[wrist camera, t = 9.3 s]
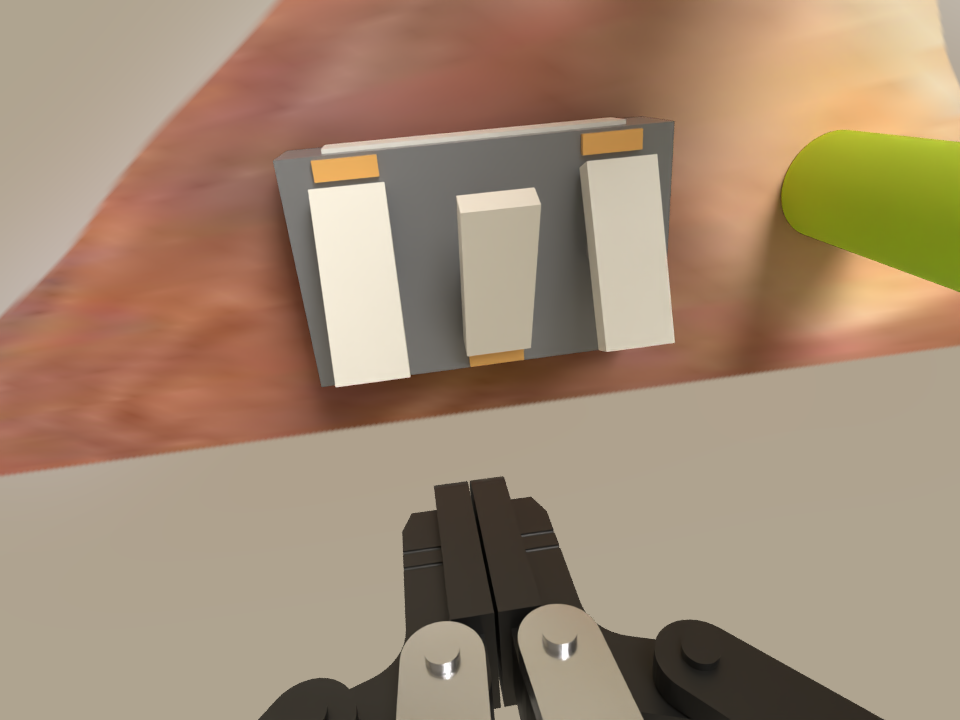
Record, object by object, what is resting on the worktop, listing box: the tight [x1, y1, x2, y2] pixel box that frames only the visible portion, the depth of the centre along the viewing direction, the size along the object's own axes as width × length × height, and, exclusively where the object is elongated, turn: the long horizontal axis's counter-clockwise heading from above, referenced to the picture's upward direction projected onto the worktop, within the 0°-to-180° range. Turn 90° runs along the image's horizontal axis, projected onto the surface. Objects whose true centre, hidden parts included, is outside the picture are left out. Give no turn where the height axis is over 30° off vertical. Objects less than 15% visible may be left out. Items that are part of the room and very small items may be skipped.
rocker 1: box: [308, 182, 411, 387], centre depth 27 cm, size 3×8×1 cm, turn 5°
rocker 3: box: [579, 154, 675, 352], centre depth 28 cm, size 3×8×1 cm, turn 5°
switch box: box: [273, 116, 674, 387], centre depth 30 cm, size 18×11×5 cm, turn 95°
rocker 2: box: [456, 187, 541, 356], centre depth 27 cm, size 3×8×1 cm, turn 5°
